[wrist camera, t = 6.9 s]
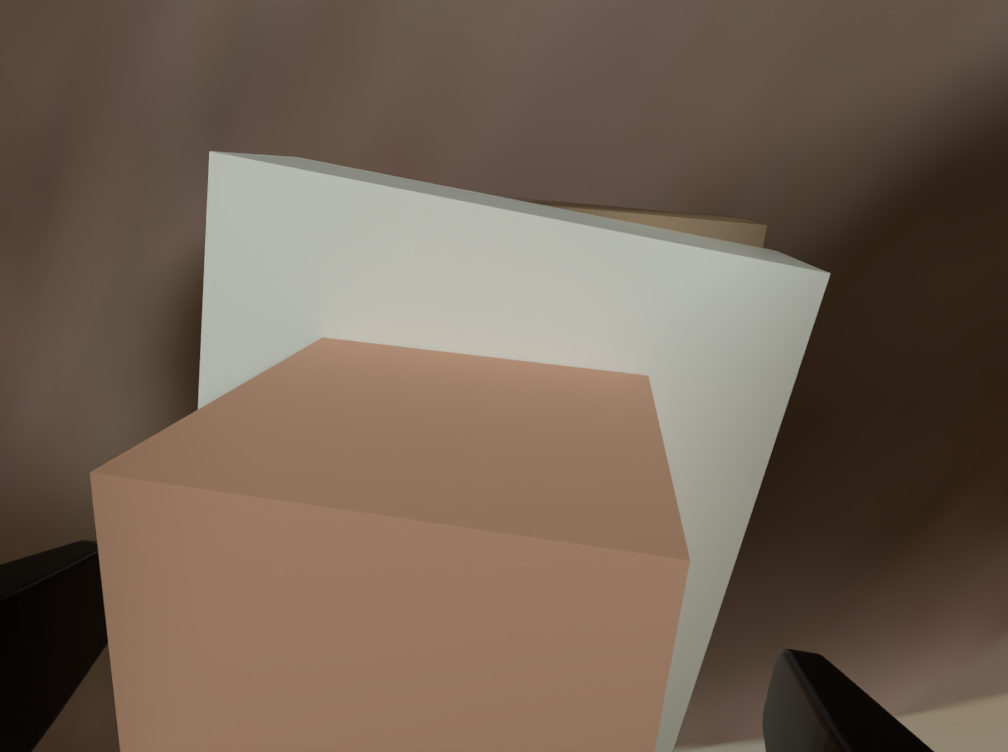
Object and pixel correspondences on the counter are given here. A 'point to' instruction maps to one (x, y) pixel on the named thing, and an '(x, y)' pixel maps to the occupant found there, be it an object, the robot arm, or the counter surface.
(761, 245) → the tower bottom
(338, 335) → the tower top
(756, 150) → the counter surface
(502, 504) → the cube
